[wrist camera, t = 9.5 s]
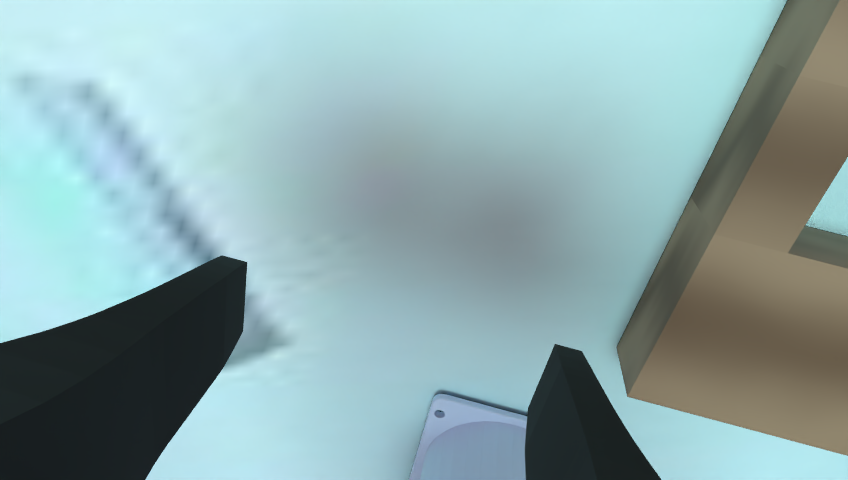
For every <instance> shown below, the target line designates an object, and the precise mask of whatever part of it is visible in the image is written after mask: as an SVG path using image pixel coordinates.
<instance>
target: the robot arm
mask: <svg viewBox="0 0 848 480" xmlns="http://www.w3.org/2000/svg"><path fill="white" fill-rule="evenodd" d="M246 273H247V262H244V261H241V260H237V259H233V258H229V257H226V256H220V257H217V258H215V259H213V260H211V261H209V262H207V263H205V264H203V265H201V266H199V267H197V268H195V269H193V270H191V271H189V272H187V273H185V274H183V275H181V276H179V277H176V278H174V279H172V280H170V281H168V282H166V283H164V284H162V285H160V286H158V287H156V288H154V289H151V290H149V291H147V292H145V293H143V294H141V295H138V296H136V297H134V298H131V299H129V300H127V301H124V302H122V303H120V304H117V305H115V306H112V307H110V308H108V309H105V310H103V311H101V312H98V313H95V314H93V315H90V316H88V317H85V318H82V319H79V320H77V321H74V322H71V323H68V324H65V325H62V326H59V327H56V328H53V329H50V330H46V331H43V332H40V333H36V334H32V335H29V336H25V337H21V338H18V339H14V340H10V341H7V342H3V343H0V480H145V479H146V477H147V476H148V474H149V472H150V471H151V469H152V467H153V466H154V464H155V462H156V461H157V459H158V458H159V456H160V455H161V453H162V452H163V450H164V449H165V447H166V446H167V444H168V443H169V442H170V440H171V439H172V438H173V436H174V435H175V433H176V432H177V431H178V429H179V428H180V427H181V425H182V424H183V423H184V421H185V420H186V418H187V417H188V416H189V414H190V413H191V412H192V410H193V409H194V408H195V406H196V405H197V403H198V402H199V401H200V399H201V398H202V397H203V395H204V394H205V393H206V391H207V390H208V388H209V387H210V386H211V384H212V383H213V381H214V380H215V379H216V377H217V376H218V374H219V373H220V372H221V370H222V369H223V367H224V366H225V364H226V362H227V360H228V358H229V357H230V355H231V353H232V351H233V349H234V347H235V346H236V344H237V342H238V340H239V338H240V336H241V334H242V332H243V323H244V306H245V290H246ZM437 410H441V411H443V412H439V411H437ZM409 480H661V478H660V477H659V476H658V474H657V473H656V472H655V470H654V469H653V468H652V466H651V465H650V463H649V462H648V461H647V459H646V458H645V456H644V455H643V453H642V452H641V450H640V449H639V447H638V446H637V445H636V443H635V442H634V440H633V439H632V437H631V435H630V434H629V432H628V431H627V429H626V428H625V426H624V424H623V423H622V421H621V419H620V418H619V416H618V415H617V413H616V411H615V410H614V408H613V406H612V404H611V403H610V401H609V399H608V397H607V396H606V394H605V392H604V390H603V389H602V387H601V385H600V383H599V381H598V380H597V378H596V376H595V374H594V372H593V370H592V369H591V367H590V365H589V363H588V361H587V360H586V358H585V356H584V354H583V353H582V351H579V350H575V349H571V348H568V347H564V346H560V345H556V344H555V346H554V348H553V350H552V353H551V355H550V357H549V360H548V362H547V365H546V367H545V369H544V372H543V374H542V376H541V379H540V381H539V384H538V386H537V388H536V391H535V393H534V395H533V398H532V400H531V403H530V405H529V407H528V414H527V416H524V415H520V414H516V413H513V412H509V411H505V410H502V409H498V408H494V407H491V406H487V405H483V404H479V403H476V402H472V401H468V400H465V399H461V398H457V397H454V396H450V395H446V394H437V395H436V396H434V398H433V400H432V403H431V406H430V410H429V413H428V416H427V420H426V423H425V427H424V430H423V433H422V437H421V440H420V443H419V447H418V450H417V453H416V457H415V460H414V463H413V467H412V470H411V473H410V477H409Z"/></svg>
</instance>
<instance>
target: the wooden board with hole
mask: <svg viewBox="0 0 848 480" xmlns="http://www.w3.org/2000/svg"><path fill="white" fill-rule="evenodd" d="M847 157H848V0H788V1H787V3H786V5H785V7H784V9H783V11H782V13H781V15H780V17H779V19H778V21H777V23H776V25H775V27H774V29H773V31H772V33H771V35H770V37H769V39H768V41H767V43H766V45H765V47H764V50H763V52H762V54H761V56H760V58H759V60H758V62H757V64H756V66H755V68H754V70H753V72H752V74H751V76H750V78H749V80H748V82H747V84H746V86H745V88H744V90H743V92H742V94H741V96H740V98H739V100H738V102H737V104H736V106H735V108H734V110H733V112H732V114H731V116H730V118H729V121H728V123H727V125H726V127H725V129H724V131H723V133H722V135H721V137H720V139H719V141H718V143H717V145H716V147H715V149H714V151H713V153H712V155H711V157H710V159H709V161H708V163H707V165H706V167H705V169H704V171H703V173H702V175H701V177H700V179H699V181H698V183H697V185H696V187H695V189H694V192H693V194H692V196H691V198H690V200H689V202H688V204H687V206H686V208H685V210H684V212H683V214H682V216H681V218H680V220H679V222H678V224H677V226H676V228H675V230H674V232H673V234H672V236H671V238H670V240H669V242H668V244H667V246H666V248H665V250H664V252H663V254H662V256H661V258H660V260H659V262H658V265H657V267H656V269H655V271H654V273H653V275H652V277H651V279H650V281H649V283H648V285H647V287H646V289H645V291H644V293H643V295H642V297H641V299H640V301H639V303H638V305H637V307H636V309H635V311H634V313H633V315H632V317H631V319H630V321H629V323H628V325H627V327H626V329H625V331H624V333H623V336H622V338H621V340H620V342H619V344H618V346H617V351H618V356H619V361H620V365H621V370H622V374H623V379H624V383H625V388H626V393H627V397H631V398H635V399H638V400H642V401H646V402H649V403H653V404H657V405H661V406H664V407H668V408H672V409H676V410H679V411H683V412H687V413H690V414H694V415H698V416H702V417H705V418H709V419H713V420H717V421H720V422H724V423H728V424H732V425H735V426H739V427H743V428H746V429H750V430H754V431H758V432H761V433H765V434H769V435H773V436H776V437H780V438H784V439H787V440H791V441H795V442H799V443H802V444H806V445H810V446H814V447H817V448H821V449H825V450H828V451H832V452H836V453H840V454H843V455H847V456H848V237H847V236H843V235H839V234H835V233H831V232H827V231H823V230H819V229H815V228H811V227H808V226H805V225H806V223H807V221H808V220H809V218H810V216H811V215H812V213H813V212H814V210H815V208H816V207H817V205H818V204H819V202H820V200H821V199H822V197H823V196H824V194H825V192H826V191H827V189H828V188H829V186H830V184H831V183H832V181H833V180H834V178H835V176H836V175H837V173H838V172H839V170H840V168H841V167H842V165H843V163H844V162H845V160H846V159H847Z"/></svg>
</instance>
